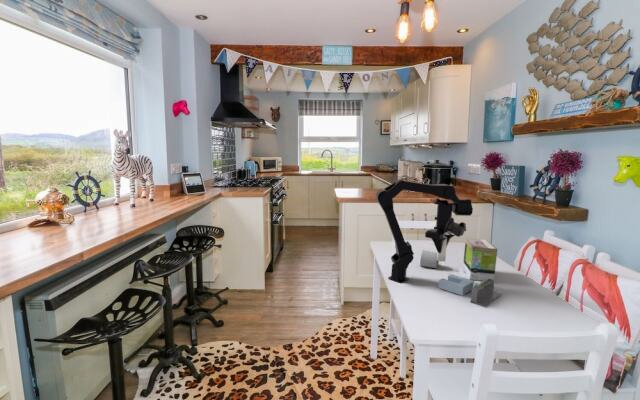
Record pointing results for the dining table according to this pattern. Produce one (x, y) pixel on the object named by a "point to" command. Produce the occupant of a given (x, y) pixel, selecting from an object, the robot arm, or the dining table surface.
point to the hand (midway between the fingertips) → (441, 251)
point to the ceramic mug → (429, 259)
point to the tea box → (479, 259)
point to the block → (456, 284)
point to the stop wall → (484, 293)
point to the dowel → (442, 251)
